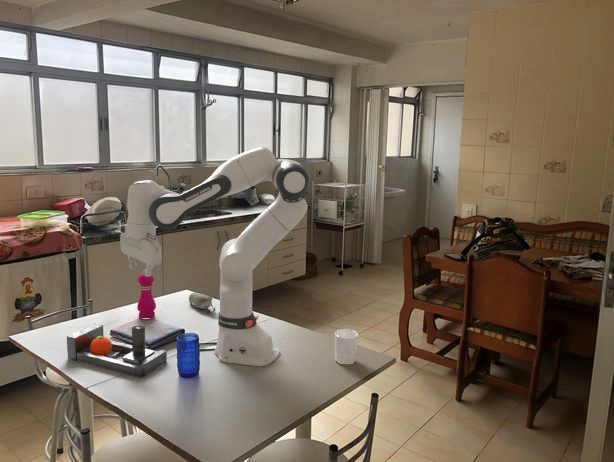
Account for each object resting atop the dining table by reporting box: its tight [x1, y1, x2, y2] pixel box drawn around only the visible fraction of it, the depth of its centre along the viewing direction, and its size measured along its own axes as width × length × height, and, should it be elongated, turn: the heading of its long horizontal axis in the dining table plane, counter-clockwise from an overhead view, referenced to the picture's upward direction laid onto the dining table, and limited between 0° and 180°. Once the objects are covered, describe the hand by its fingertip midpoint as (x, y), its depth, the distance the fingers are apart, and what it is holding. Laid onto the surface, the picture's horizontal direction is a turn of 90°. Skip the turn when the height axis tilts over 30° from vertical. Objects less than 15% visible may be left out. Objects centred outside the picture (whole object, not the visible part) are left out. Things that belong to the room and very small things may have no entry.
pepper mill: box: [136, 268, 157, 319], centre depth 203 cm, size 7×7×20 cm
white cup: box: [334, 328, 359, 365], centre depth 171 cm, size 8×8×10 cm
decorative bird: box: [188, 292, 216, 314], centre depth 216 cm, size 5×16×8 cm, turn 47°
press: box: [66, 323, 168, 379], centre depth 166 cm, size 30×12×8 cm, turn 68°
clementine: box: [90, 336, 112, 357], centre depth 168 cm, size 8×7×7 cm
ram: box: [122, 324, 156, 365], centre depth 162 cm, size 6×8×13 cm
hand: (140, 272), depth 164 cm, fingers open, 8 cm apart
